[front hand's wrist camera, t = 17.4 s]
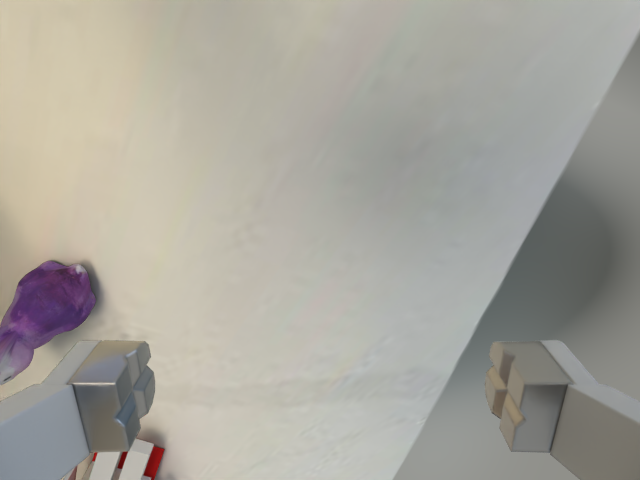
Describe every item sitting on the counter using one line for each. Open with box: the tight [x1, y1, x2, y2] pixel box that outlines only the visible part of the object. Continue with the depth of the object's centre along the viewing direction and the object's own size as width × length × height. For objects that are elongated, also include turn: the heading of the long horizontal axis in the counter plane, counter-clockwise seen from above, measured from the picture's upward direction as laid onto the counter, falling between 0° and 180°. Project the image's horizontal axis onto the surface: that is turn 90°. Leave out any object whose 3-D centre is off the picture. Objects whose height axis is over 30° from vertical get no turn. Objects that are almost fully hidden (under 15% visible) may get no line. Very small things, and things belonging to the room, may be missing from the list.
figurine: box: [0, 261, 96, 385], centre depth 49 cm, size 9×10×15 cm
